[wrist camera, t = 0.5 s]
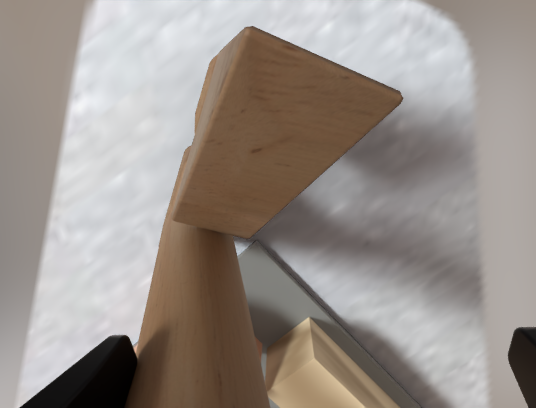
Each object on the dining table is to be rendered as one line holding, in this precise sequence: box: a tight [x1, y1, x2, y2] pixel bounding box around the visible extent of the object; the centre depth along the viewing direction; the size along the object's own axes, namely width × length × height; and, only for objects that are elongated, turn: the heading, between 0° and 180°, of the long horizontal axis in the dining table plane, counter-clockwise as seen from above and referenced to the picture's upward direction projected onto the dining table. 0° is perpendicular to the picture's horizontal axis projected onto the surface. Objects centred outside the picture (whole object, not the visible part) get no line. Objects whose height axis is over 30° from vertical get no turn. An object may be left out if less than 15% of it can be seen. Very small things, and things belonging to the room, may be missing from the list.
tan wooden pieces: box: [124, 26, 403, 408], centre depth 12 cm, size 4×11×18 cm, turn 160°
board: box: [133, 240, 422, 408], centre depth 26 cm, size 15×21×1 cm
